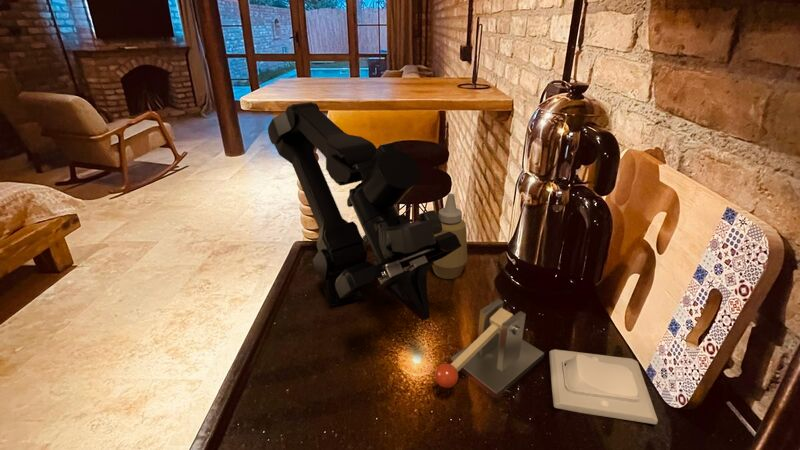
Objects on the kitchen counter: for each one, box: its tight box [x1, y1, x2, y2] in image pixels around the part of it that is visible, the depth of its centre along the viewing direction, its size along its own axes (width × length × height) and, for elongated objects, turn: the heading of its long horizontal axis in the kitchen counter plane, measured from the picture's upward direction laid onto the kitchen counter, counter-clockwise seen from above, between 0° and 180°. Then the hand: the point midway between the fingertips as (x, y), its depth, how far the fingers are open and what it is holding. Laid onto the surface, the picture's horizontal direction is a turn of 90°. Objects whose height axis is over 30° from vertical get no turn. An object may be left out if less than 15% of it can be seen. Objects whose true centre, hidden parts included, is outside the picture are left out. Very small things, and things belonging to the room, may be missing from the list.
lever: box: [434, 307, 514, 389], centre depth 58 cm, size 15×3×3 cm, turn 130°
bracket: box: [449, 298, 545, 400], centre depth 62 cm, size 12×9×10 cm
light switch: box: [548, 349, 659, 425], centre depth 59 cm, size 11×4×13 cm
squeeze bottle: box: [431, 193, 468, 280], centre depth 84 cm, size 8×8×18 cm
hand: (426, 319), depth 56 cm, fingers closed
